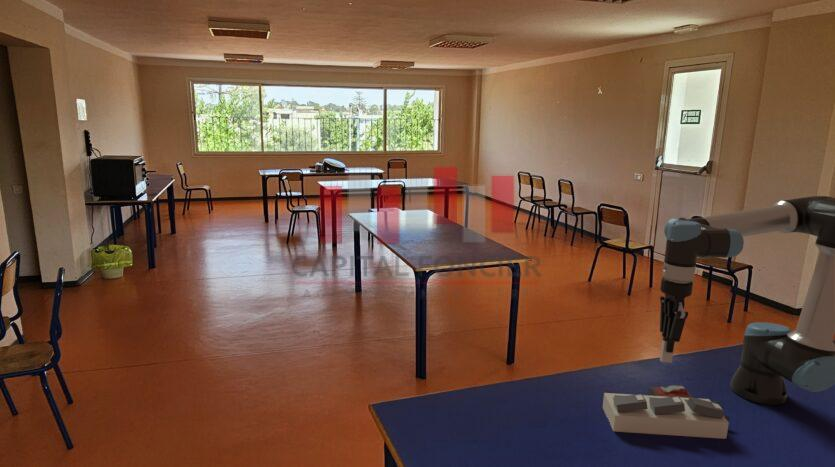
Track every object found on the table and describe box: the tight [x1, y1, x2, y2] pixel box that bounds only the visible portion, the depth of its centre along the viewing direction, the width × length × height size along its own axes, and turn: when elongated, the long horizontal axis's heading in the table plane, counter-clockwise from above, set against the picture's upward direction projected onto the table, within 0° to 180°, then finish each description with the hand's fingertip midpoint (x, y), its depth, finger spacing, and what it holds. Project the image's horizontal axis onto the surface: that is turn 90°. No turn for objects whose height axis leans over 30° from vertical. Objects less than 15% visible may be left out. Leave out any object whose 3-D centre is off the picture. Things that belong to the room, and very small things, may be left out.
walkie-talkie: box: [647, 385, 721, 405], centre depth 160 cm, size 9×4×20 cm
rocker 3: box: [687, 396, 726, 419], centre depth 143 cm, size 8×4×3 cm, turn 85°
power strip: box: [602, 392, 730, 440], centre depth 148 cm, size 33×12×5 cm, turn 84°
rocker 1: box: [613, 393, 647, 413], centre depth 145 cm, size 8×4×3 cm, turn 84°
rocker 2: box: [649, 396, 685, 415], centre depth 144 cm, size 8×4×3 cm, turn 84°
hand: (665, 361), depth 141 cm, fingers closed
